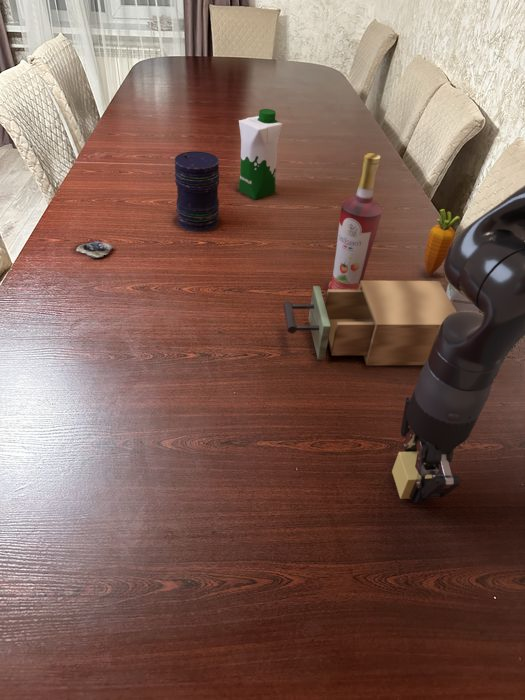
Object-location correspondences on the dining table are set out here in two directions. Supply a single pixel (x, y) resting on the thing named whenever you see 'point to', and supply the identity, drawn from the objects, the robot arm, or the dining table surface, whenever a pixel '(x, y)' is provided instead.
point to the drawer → (336, 321)
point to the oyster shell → (95, 249)
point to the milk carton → (259, 154)
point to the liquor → (357, 230)
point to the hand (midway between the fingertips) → (412, 482)
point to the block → (405, 473)
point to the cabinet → (404, 319)
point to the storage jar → (197, 190)
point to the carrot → (439, 242)
